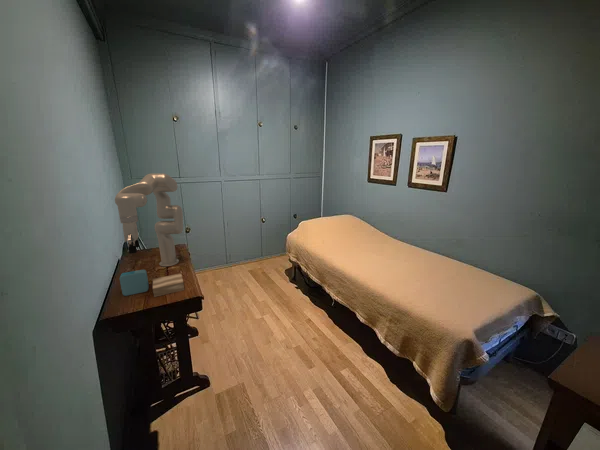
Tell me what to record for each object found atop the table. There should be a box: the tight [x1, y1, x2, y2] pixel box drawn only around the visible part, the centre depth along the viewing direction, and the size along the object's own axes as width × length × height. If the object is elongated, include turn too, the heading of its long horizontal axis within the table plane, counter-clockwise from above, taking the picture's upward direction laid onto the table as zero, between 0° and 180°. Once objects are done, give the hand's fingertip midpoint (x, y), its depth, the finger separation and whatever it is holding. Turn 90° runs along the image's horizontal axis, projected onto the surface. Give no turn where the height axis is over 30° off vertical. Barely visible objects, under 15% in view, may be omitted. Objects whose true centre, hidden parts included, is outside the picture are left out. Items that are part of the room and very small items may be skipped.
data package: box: [119, 269, 150, 297], centre depth 132 cm, size 12×4×12 cm, turn 118°
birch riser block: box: [152, 272, 185, 298], centre depth 137 cm, size 13×15×5 cm
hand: (134, 250), depth 127 cm, fingers open, 9 cm apart
